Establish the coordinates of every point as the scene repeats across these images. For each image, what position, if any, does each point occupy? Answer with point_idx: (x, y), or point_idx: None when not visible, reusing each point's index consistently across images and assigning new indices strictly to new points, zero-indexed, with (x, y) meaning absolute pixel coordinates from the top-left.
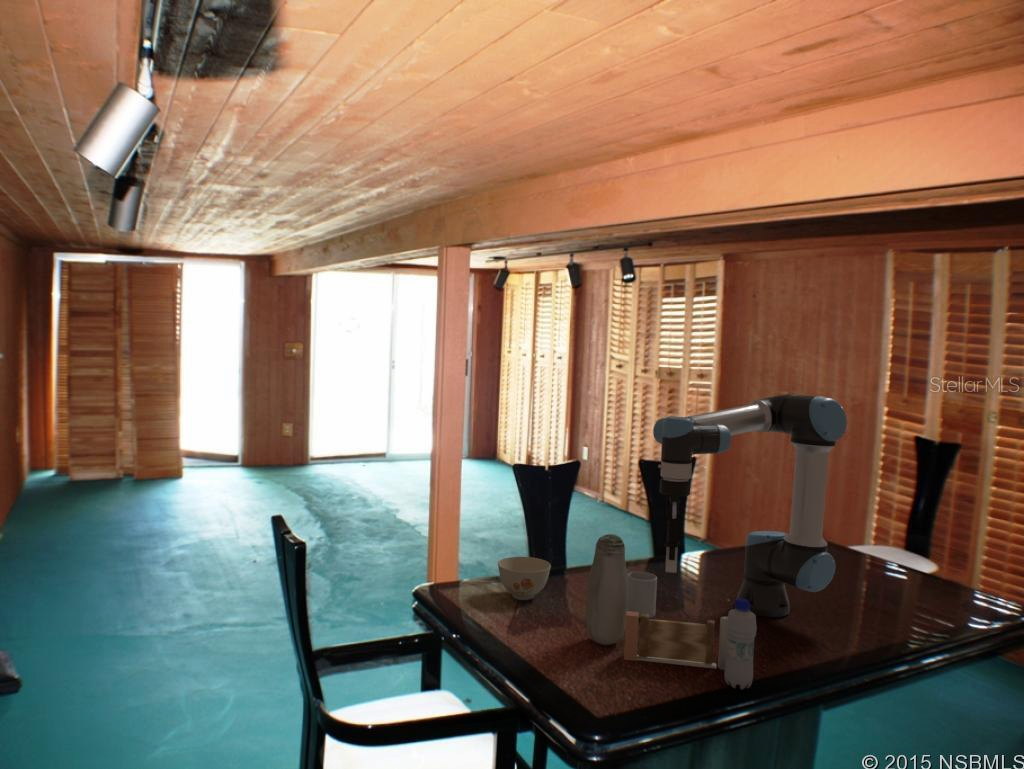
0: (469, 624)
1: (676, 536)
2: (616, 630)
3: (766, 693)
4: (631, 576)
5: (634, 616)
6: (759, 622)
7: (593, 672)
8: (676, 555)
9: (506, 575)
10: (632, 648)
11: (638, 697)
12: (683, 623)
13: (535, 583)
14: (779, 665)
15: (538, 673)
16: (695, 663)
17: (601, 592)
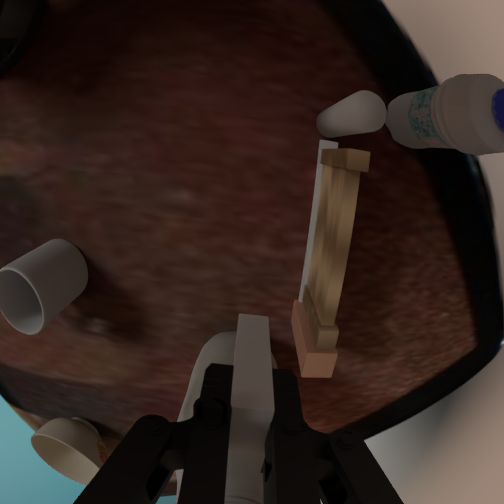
0: None
1: (389, 495)
2: (272, 357)
3: (424, 82)
4: (15, 317)
5: (335, 361)
6: (63, 27)
7: (366, 364)
8: (270, 375)
9: None
10: None
11: (445, 302)
12: (348, 238)
13: (94, 445)
14: (292, 10)
15: (365, 418)
16: None
17: None
